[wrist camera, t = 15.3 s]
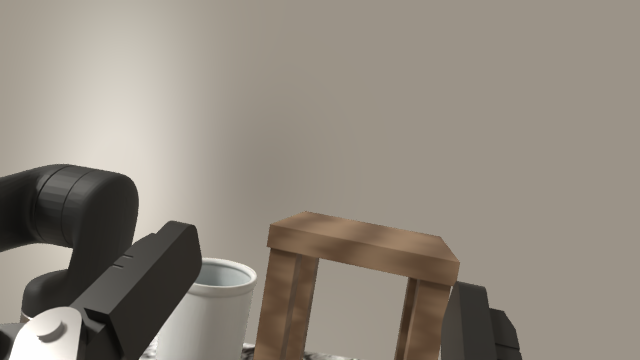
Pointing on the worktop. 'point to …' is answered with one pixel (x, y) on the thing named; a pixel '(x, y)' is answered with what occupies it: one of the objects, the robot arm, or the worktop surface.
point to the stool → (360, 250)
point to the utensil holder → (210, 315)
